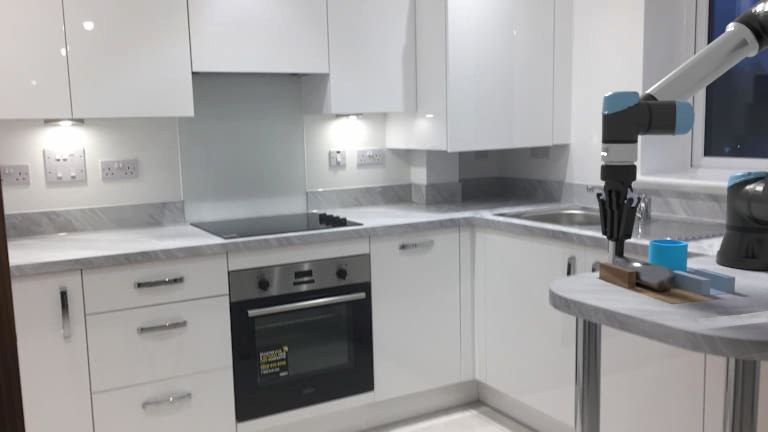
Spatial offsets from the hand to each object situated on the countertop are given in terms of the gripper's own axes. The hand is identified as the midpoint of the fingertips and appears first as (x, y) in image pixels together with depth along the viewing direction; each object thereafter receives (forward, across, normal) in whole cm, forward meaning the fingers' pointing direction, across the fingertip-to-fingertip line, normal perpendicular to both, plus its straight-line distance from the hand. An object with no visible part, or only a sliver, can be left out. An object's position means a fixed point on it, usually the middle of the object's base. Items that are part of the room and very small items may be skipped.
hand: (615, 269), depth 156 cm
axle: (+1, +9, 0) cm, 9 cm away
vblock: (+3, +16, +9) cm, 19 cm away
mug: (+3, -2, +16) cm, 16 cm away
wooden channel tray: (+3, +11, 0) cm, 12 cm away
